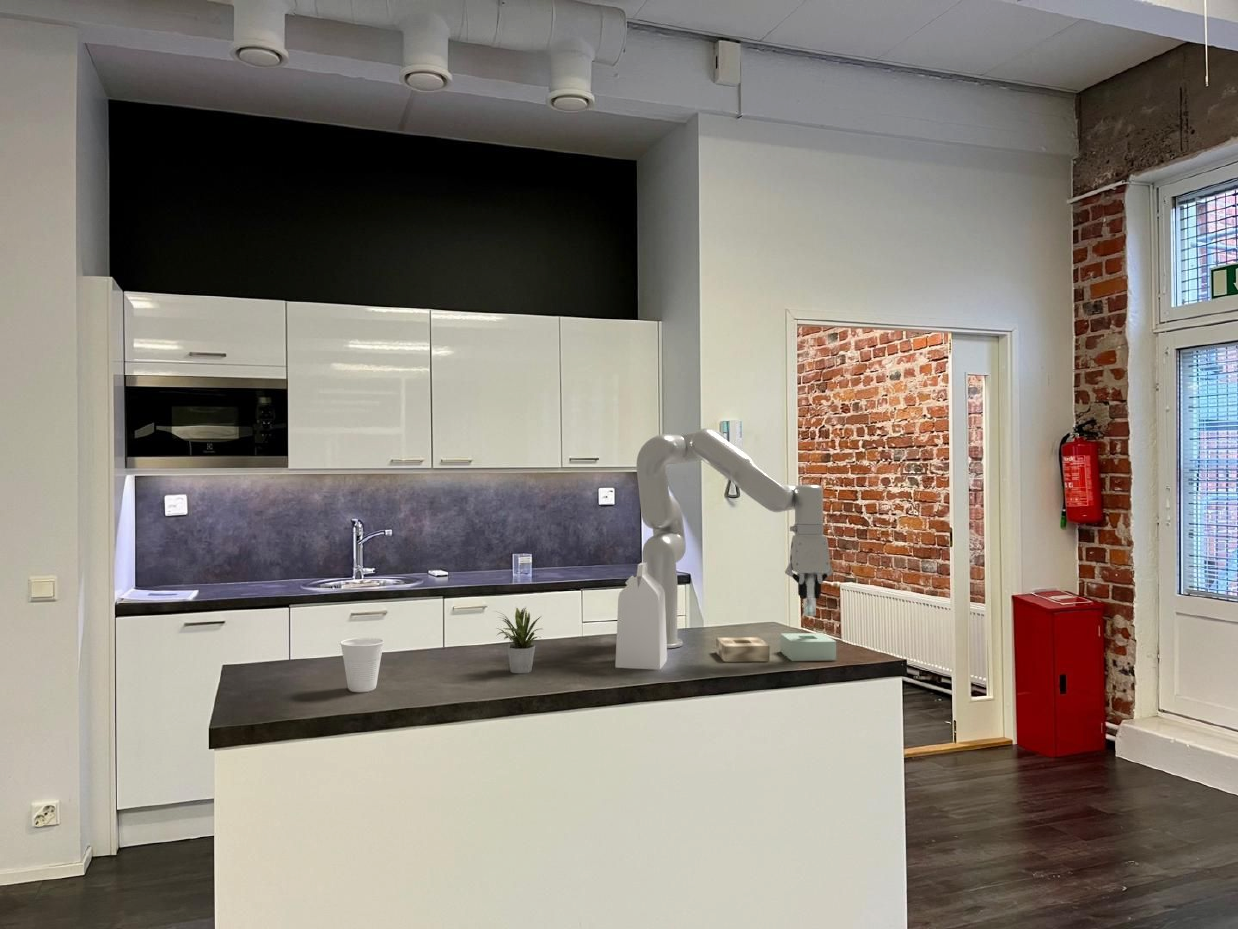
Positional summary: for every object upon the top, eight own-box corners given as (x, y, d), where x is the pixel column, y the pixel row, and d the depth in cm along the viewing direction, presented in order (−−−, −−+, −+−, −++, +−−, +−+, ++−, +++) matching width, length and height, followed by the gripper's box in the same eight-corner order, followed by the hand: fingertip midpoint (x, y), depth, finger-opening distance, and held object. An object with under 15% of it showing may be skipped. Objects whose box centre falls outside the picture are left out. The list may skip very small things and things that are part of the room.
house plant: (483, 666, 245) (484, 602, 245) (536, 662, 250) (536, 599, 250) (497, 678, 232) (497, 610, 231) (552, 674, 237) (552, 607, 236)
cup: (388, 684, 225) (388, 637, 225) (379, 695, 215) (379, 645, 215) (345, 684, 225) (345, 637, 224) (334, 695, 215) (334, 645, 215)
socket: (791, 660, 254) (791, 642, 254) (780, 651, 266) (780, 633, 266) (836, 660, 255) (836, 641, 255) (822, 651, 267) (822, 633, 267)
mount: (724, 661, 252) (724, 646, 252) (716, 652, 264) (716, 637, 264) (769, 661, 253) (769, 646, 253) (759, 651, 265) (759, 637, 265)
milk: (660, 669, 242) (660, 566, 242) (615, 667, 245) (616, 565, 244) (667, 660, 254) (667, 561, 254) (624, 657, 256) (625, 560, 256)
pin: (805, 616, 258) (805, 571, 258) (802, 614, 261) (802, 570, 261) (817, 615, 259) (816, 571, 258) (813, 613, 262) (813, 569, 262)
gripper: (782, 531, 256) (783, 600, 256) (843, 531, 257) (843, 599, 257) (775, 529, 263) (776, 596, 263) (834, 529, 264) (834, 595, 264)
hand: (809, 597), depth 260 cm, fingers closed on pin, 3 cm apart
